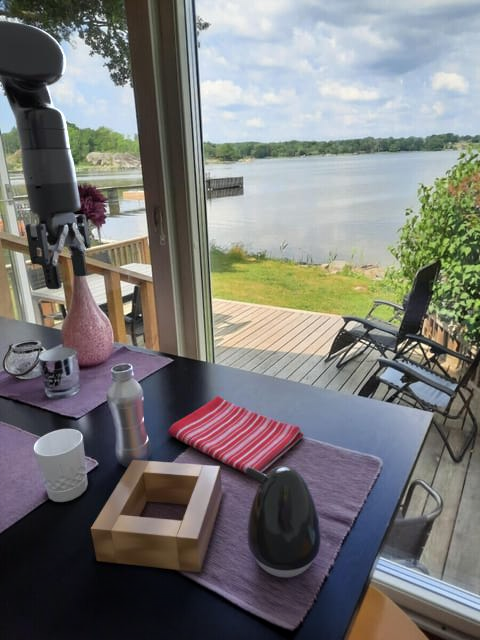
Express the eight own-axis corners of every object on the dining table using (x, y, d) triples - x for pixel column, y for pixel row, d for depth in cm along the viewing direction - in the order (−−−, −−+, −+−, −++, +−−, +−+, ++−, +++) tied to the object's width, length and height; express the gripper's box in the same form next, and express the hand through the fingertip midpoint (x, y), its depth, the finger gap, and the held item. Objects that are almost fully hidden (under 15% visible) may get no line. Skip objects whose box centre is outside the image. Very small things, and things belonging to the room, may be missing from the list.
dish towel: (219, 403, 105) (218, 393, 104) (304, 436, 91) (305, 425, 90) (165, 437, 93) (164, 426, 92) (255, 482, 79) (254, 469, 78)
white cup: (70, 509, 74) (60, 459, 71) (34, 499, 77) (22, 450, 73) (100, 479, 81) (92, 432, 78) (65, 471, 84) (56, 425, 80)
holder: (96, 561, 64) (90, 528, 62) (136, 487, 78) (132, 459, 76) (200, 572, 61) (197, 539, 59) (222, 495, 76) (220, 465, 74)
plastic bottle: (157, 463, 85) (146, 368, 78) (123, 477, 81) (109, 379, 75) (144, 446, 90) (133, 357, 83) (112, 459, 86) (97, 366, 80)
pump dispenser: (261, 523, 69) (259, 441, 64) (326, 542, 66) (329, 456, 61) (235, 576, 61) (231, 486, 56) (309, 601, 57) (312, 506, 52)
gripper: (54, 180, 76) (69, 272, 81) (-1, 183, 63) (22, 293, 68) (94, 178, 75) (107, 272, 80) (47, 181, 61) (66, 293, 67)
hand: (68, 281), depth 74 cm, fingers open, 8 cm apart
